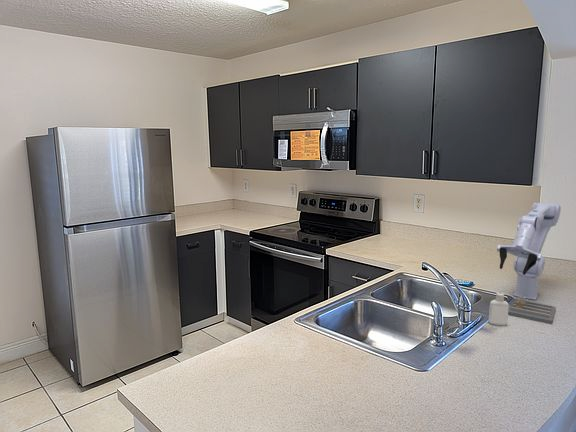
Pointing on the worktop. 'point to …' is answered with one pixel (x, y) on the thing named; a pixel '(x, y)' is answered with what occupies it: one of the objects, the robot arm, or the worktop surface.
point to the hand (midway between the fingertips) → (512, 270)
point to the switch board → (533, 311)
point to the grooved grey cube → (522, 298)
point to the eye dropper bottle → (498, 310)
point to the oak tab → (519, 304)
